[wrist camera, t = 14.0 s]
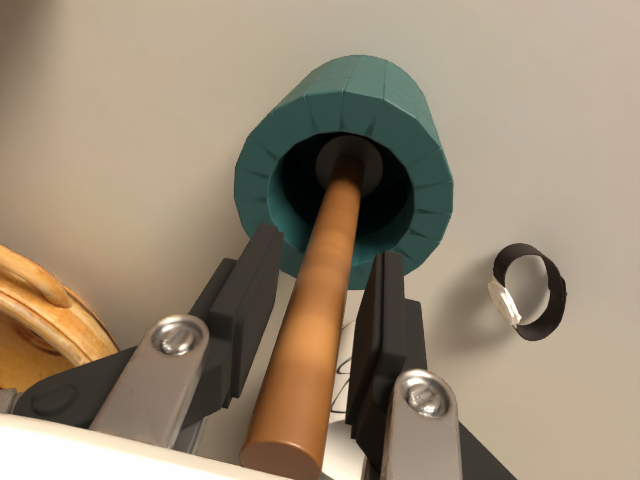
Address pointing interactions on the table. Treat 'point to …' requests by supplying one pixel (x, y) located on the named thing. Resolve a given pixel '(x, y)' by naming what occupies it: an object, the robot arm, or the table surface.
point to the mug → (342, 420)
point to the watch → (507, 306)
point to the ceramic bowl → (43, 325)
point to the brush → (313, 320)
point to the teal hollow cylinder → (361, 119)
